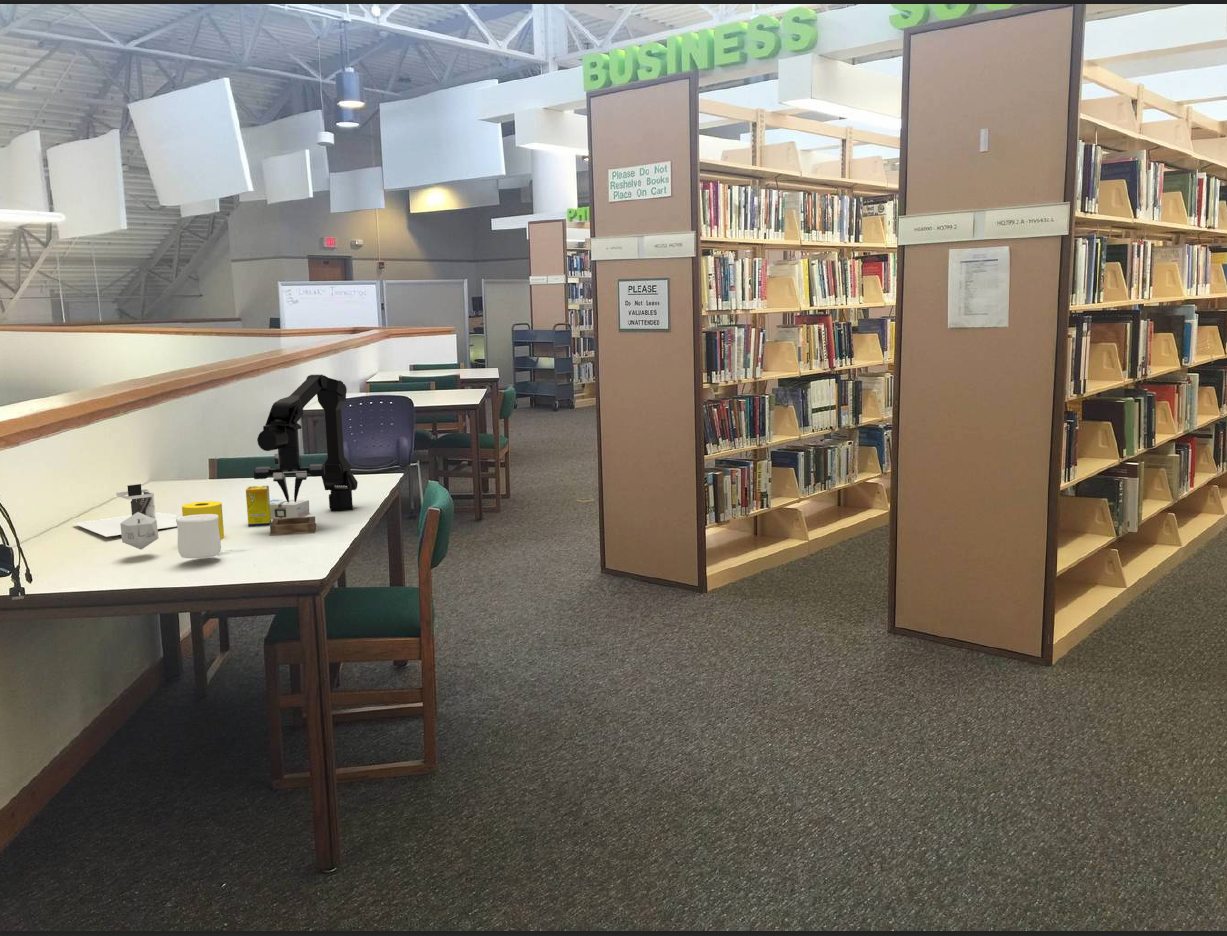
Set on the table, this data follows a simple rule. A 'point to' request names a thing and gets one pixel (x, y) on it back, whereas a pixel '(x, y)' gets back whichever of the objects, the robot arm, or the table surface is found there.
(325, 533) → the table surface
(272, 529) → the base
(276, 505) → the ink box
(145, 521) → the die
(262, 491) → the supplement box
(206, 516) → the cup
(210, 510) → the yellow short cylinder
